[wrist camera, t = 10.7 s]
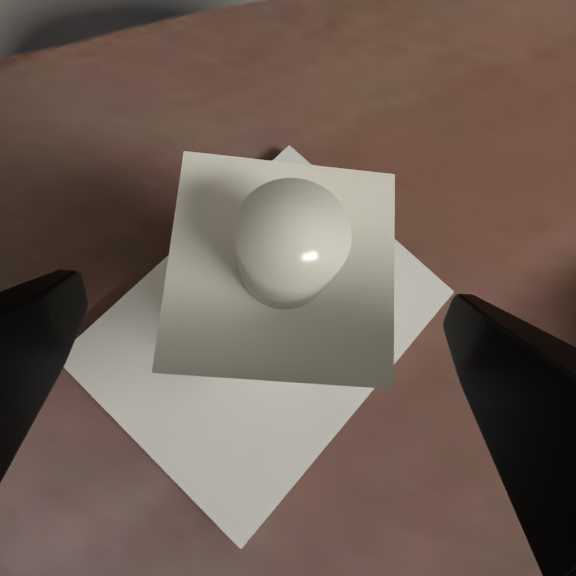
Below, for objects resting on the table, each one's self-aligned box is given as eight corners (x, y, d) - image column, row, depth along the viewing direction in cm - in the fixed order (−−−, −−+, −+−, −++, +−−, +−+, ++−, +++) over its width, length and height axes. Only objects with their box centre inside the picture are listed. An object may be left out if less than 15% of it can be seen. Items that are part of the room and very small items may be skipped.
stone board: (241, 539, 17) (240, 549, 16) (65, 358, 18) (55, 358, 17) (444, 295, 21) (454, 291, 20) (287, 155, 22) (289, 145, 21)
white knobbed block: (314, 377, 18) (440, 396, 6) (210, 370, 18) (115, 374, 5) (319, 278, 19) (433, 119, 7) (222, 270, 19) (163, 87, 7)
